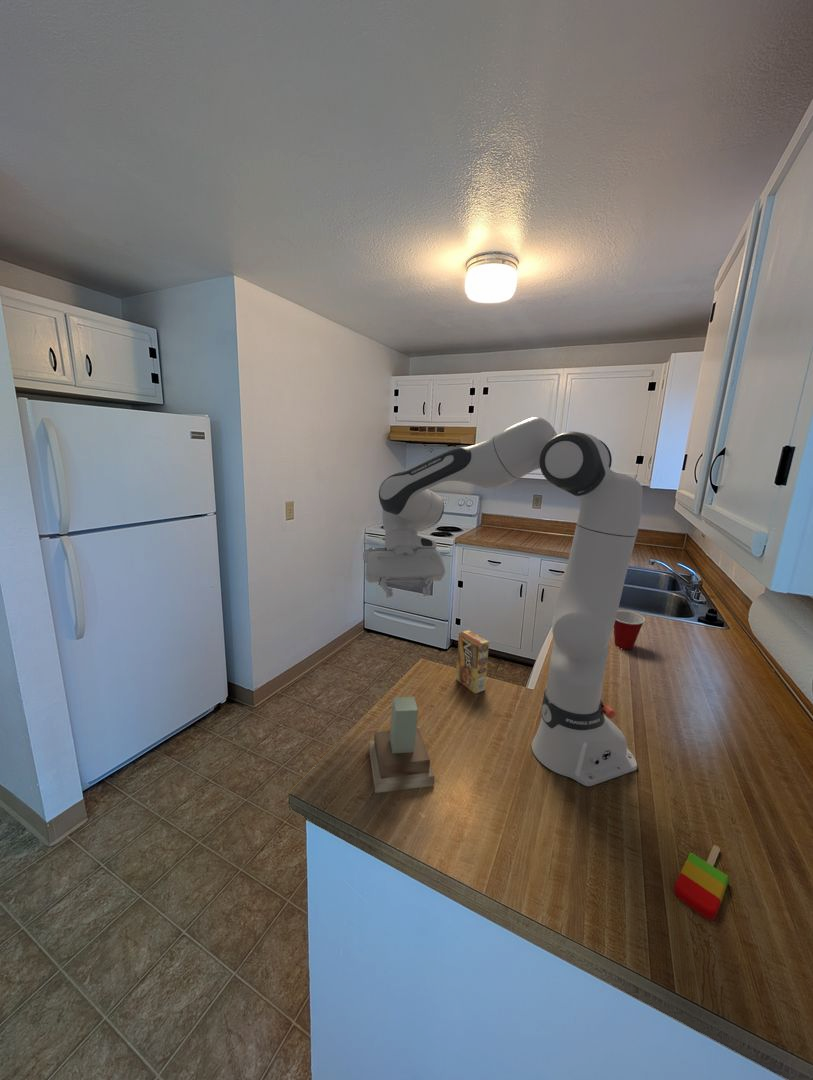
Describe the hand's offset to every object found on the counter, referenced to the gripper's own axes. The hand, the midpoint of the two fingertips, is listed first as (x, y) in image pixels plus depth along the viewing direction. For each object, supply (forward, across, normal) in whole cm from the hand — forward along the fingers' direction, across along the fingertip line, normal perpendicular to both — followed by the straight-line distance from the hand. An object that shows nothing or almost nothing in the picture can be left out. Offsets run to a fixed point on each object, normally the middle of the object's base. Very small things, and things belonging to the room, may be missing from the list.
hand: (408, 595), depth 100 cm
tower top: (+34, -4, +8) cm, 35 cm away
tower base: (+36, -5, +10) cm, 38 cm away
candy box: (+16, +22, +29) cm, 40 cm away
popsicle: (+58, +41, -12) cm, 72 cm away
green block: (+32, -4, +5) cm, 33 cm away
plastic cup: (+5, +87, +41) cm, 96 cm away
